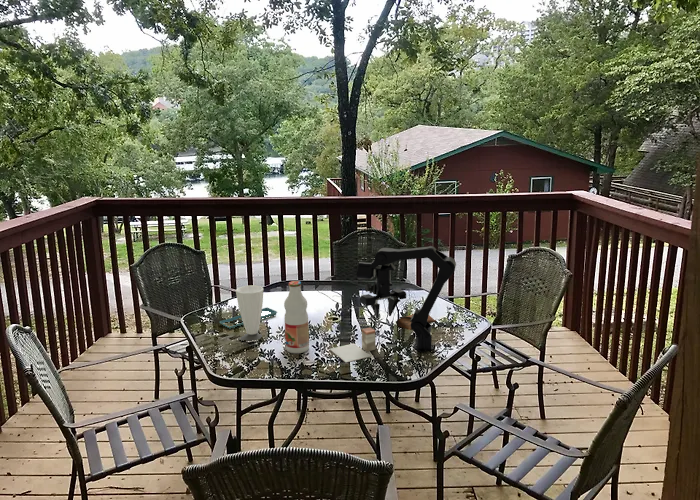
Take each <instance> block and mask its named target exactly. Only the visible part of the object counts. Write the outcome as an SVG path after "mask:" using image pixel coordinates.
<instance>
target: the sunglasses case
mask: <svg viewBox="0 0 700 500" xmlns="http://www.w3.org/2000/svg"><path fill="white" fill-rule="evenodd" d="M412 315H414V313H413V314H410V315H407V316H402V317H399V318H398V319H397V320H396V326H398V327H401V328H403V329H404V330H409V331H411V330H412V329H411V322H410V320H411V318H412ZM427 321H428V322H429V323H430V324H431V323H434V322H437V320H436V319H434V318H433V317H432V316H431V315H430V314H429V316H428V320H427Z"/></svg>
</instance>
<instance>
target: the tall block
mask: <svg viewBox="0 0 700 500" xmlns="http://www.w3.org/2000/svg"><path fill="white" fill-rule="evenodd" d="M361 349H362V350H364V351H365V352H371V351H374V350H376V329H374V328H372V327H366V328H365V327H364V328H363V329H362V328H361Z"/></svg>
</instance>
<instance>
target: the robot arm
mask: <svg viewBox="0 0 700 500" xmlns="http://www.w3.org/2000/svg"><path fill="white" fill-rule="evenodd" d="M420 259H429V260H430V261H431V262H432V264H434V265H435V266H436V267H437V268H438V272H437V276H436V278H435V281H433V284H432V286H431V288H430V290H429V292H428V294H427V296H426V298H425V300H424V302H423V304H422V306H421V307H420V308H419V309H418V308H417V307H415V310H414V313H413V314H414V315H412V314H411V315H412V318H411V320H410V322H411V330H412V331H413V332H414V334H415V344H414V345H412V348H413V349H415V350H417V351H418V352H419V353H426V352H430V351H433V350H435V349H436V348H435V347H434V346H432V343H433V342H432V341H433V339H432V329H433V325H432V324H431V323H429V322H428V321H427V320H428V316H429V315H430V313H431V311H432V309H433V307H434V305H435V303H436V301H437V299H438V297H439V296H440V293H441V291H442V289H443V287H444V285H445V284H446V283H447V281H449V279H450V278H451V277H452V275H453V274H454V273H455V272H456V267H457V262H456V259H454V257H451V256H447V254H445V253H443V252H441V251H440V250H439V249H437V248H436V247H435V246H432V245H429V246H422V247H413V248H412V247H411V248H404V249H397V248H392V247H382V248H380V249H378V251H377V252H376V253H375V255H374V259H373V260H372V261H371V262H364V261H359V262H358V264H357V269H356V270H357V271H356V278H357V279H358V280H373V278H375V281H374V282H373V284H371V283H365V285H364V290H365V293H368V294H362V295H361V296H360V298H359V302H360V303H361V304H363V305H365V306H368V307H369V306H370V307H371V309H372V311H373V314H374V316H375V318H376V319H377V320H378V319H379V317H380V306H381V305H380V303H379V301H382V300H387V304H388V305H387V306H388V307H387V313H388V316H389V317H392V314H393V313H394V310H395V308H396V307H397V305H398V304H399V302H401V300H404V299H407V292H406V291H405V290H403V289H401V288H394V289H391V287H392V286H393V283H392V282H391V280H392V278H391V276H392V275H391V271H395V270H396V266H395V265H394V264H393V263H395V262H399V261H405V260H406V261H407V260H420ZM371 294H373V295H371Z"/></svg>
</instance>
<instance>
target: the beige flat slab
mask: <svg viewBox="0 0 700 500" xmlns="http://www.w3.org/2000/svg"><path fill="white" fill-rule="evenodd" d="M329 350H330V352H332V353H333V354H334V355H336V356H337V357H338V358H340V359H341V360H342V361H343V362H344V363H346V364H347V363H350V362H355V361H359V360H361V359H362V360H363V359H367V358H370V357H372V355H371V354H369V353H368V352H367V351H366V350H364V349H363V348H362V347H360V346H358V345H357V344H355V343H350V344H346V345H341V346H337V347H333V348H332V347H331V348H329Z"/></svg>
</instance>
